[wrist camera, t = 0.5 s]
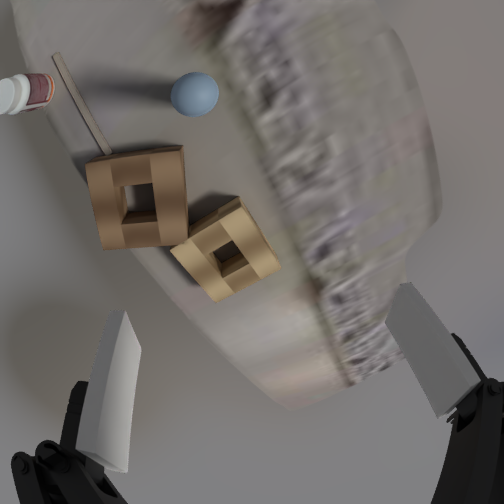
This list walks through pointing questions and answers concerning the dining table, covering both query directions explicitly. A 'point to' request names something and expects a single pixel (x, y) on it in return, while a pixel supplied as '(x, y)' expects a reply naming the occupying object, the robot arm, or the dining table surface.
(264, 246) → the light wood square frame
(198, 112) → the blue-grey peg
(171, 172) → the square wooden ring
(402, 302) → the robot arm
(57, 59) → the thin wooden stick
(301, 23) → the dining table surface
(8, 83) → the pill bottle
